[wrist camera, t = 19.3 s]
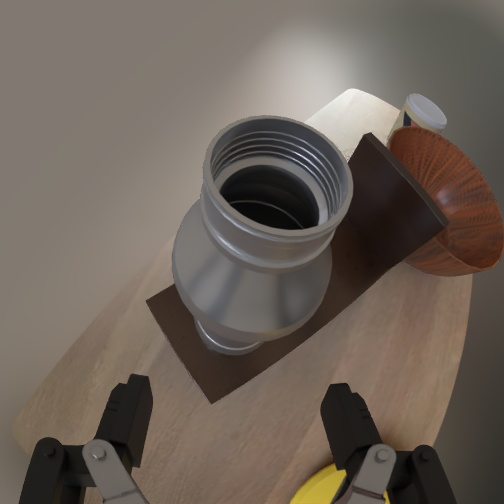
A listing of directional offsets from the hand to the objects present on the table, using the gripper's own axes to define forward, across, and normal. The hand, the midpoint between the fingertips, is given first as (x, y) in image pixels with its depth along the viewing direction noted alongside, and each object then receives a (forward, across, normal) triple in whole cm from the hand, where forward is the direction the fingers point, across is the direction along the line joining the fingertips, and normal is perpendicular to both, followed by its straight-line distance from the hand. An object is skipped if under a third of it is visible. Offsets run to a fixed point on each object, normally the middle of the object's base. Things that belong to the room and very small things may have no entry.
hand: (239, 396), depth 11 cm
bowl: (+31, -30, -2) cm, 43 cm away
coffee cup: (+45, -34, -16) cm, 58 cm away
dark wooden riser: (+21, -5, +8) cm, 23 cm away
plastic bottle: (+13, 0, +5) cm, 14 cm away
